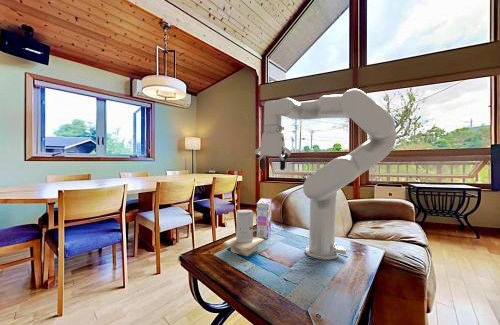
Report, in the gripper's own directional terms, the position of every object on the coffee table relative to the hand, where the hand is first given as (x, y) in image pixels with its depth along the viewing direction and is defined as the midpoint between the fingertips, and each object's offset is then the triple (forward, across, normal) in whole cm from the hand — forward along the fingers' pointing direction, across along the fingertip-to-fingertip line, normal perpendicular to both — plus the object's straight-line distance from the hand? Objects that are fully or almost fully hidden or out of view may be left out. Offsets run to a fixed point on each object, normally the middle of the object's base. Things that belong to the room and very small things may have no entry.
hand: (272, 169), depth 105 cm
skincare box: (+28, +5, +14) cm, 32 cm away
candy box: (+32, +8, -8) cm, 34 cm away
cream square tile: (+32, +5, +14) cm, 36 cm away
